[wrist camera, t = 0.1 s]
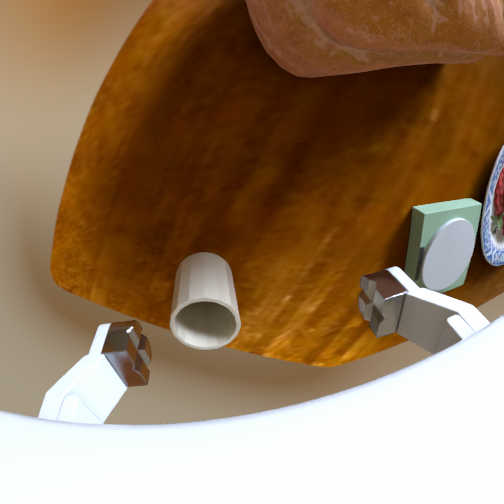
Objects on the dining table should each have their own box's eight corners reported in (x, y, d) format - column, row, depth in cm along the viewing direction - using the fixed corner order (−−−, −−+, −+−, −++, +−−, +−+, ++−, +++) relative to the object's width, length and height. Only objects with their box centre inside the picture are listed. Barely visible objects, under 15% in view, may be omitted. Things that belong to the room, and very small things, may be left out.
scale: (454, 276, 38) (465, 286, 36) (399, 295, 37) (409, 308, 35) (470, 197, 32) (484, 205, 29) (412, 206, 31) (427, 215, 28)
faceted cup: (236, 293, 33) (245, 343, 26) (184, 303, 32) (181, 353, 25) (226, 246, 30) (233, 291, 23) (169, 257, 29) (160, 304, 22)
